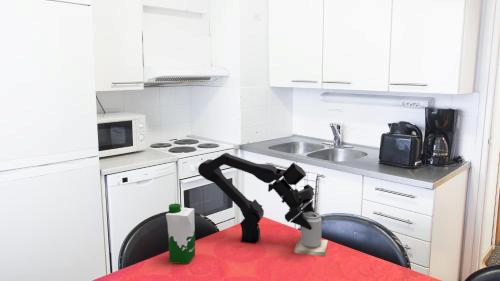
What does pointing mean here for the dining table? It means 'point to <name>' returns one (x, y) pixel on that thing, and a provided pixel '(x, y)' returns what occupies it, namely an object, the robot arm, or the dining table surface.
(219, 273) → the dining table surface
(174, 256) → the milk carton
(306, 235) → the can
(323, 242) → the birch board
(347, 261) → the dining table surface
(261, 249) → the dining table surface
